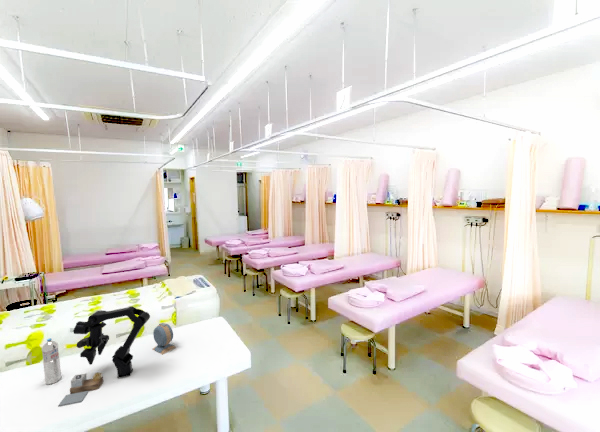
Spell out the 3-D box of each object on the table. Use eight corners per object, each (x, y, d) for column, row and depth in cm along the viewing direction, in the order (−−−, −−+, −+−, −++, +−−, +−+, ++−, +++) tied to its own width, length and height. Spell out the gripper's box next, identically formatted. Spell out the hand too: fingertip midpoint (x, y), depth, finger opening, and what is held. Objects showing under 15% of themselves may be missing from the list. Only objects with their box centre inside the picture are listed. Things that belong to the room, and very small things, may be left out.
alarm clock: (176, 347, 188) (175, 323, 186) (163, 355, 180) (161, 329, 178) (164, 342, 195) (163, 318, 194) (151, 348, 187) (149, 324, 186)
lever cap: (86, 380, 152) (86, 372, 152) (82, 386, 147) (81, 378, 147) (76, 382, 151) (75, 374, 150) (71, 388, 146) (70, 380, 146)
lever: (101, 376, 155) (101, 371, 154) (99, 380, 152) (98, 374, 151) (95, 377, 154) (94, 372, 153) (93, 381, 151) (92, 375, 151)
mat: (88, 391, 147) (88, 390, 147) (81, 401, 140) (81, 400, 140) (66, 396, 145) (66, 394, 144) (58, 406, 137) (58, 405, 137)
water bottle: (48, 386, 152) (43, 343, 150) (43, 382, 156) (39, 340, 153) (63, 379, 158) (59, 337, 156) (59, 375, 161) (54, 334, 159)
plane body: (103, 381, 155) (102, 376, 155) (98, 389, 149) (98, 383, 149) (75, 386, 151) (75, 381, 151) (70, 394, 146) (69, 389, 145)
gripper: (89, 326, 166) (89, 350, 167) (69, 342, 147) (69, 370, 148) (110, 325, 168) (109, 350, 169) (92, 342, 149) (92, 369, 150)
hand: (95, 359), depth 159 cm, fingers open, 9 cm apart
